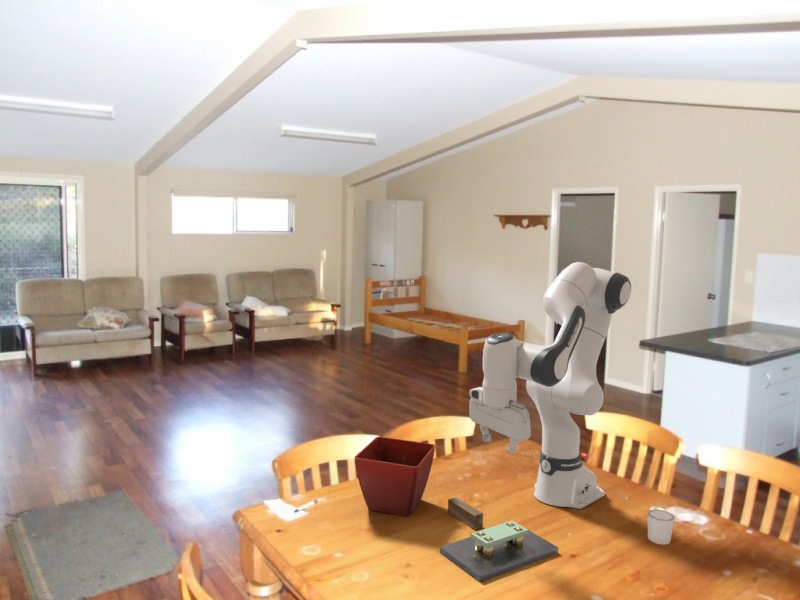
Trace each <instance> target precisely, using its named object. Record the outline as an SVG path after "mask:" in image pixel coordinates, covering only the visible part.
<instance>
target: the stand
mask: <svg viewBox="0 0 800 600" xmlns="http://www.w3.org/2000/svg"><path fill="white" fill-rule="evenodd" d="M447 513H448V514H450V515H451V516H452V517H454V518H455V519H457V520H459V521H461V522H462V524H463V523H464V524H465V525H467V526H468V527H470V528H471V529H473V530H477V529H480V528H483V526H484V525H483V524H484V522H483V521H484V512H482V511H480V510H479V509H477V508H476V507H474V506H472V505H470V504H469V503H467V502H466V501H464V500H462V499H461V498H460V497H458V496H455V497H451V498H448V499H447Z"/></svg>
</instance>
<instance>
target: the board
mask: <svg viewBox="0 0 800 600" xmlns="http://www.w3.org/2000/svg"><path fill="white" fill-rule="evenodd" d="M509 522H512V523H513V524H512V527H509ZM517 527H520V531H519V532H518V531H516V529H517ZM528 530H529V529H528V528H526V527H524V526H522V525H521V524H519V523H517V522H516V521H514V520H509V521H505V522H503V523H500V524H497V525H494V526H490V527H487V528H483V529H481V530H477V531H475V532H472V533H470V537H471V538H472V539H473V540H475V541H476V542H478V543H479V544H481V545H482V546H484V547H485V548H488V547H491V546H494V545H497V544H500V543H503V542H506V541H509V540H512V539H515V538H518V537H521V536H524V535H527V534H528ZM479 532H483V536H481V537H480V536H479ZM487 537H491V541H489V542H488V541H487Z"/></svg>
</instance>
